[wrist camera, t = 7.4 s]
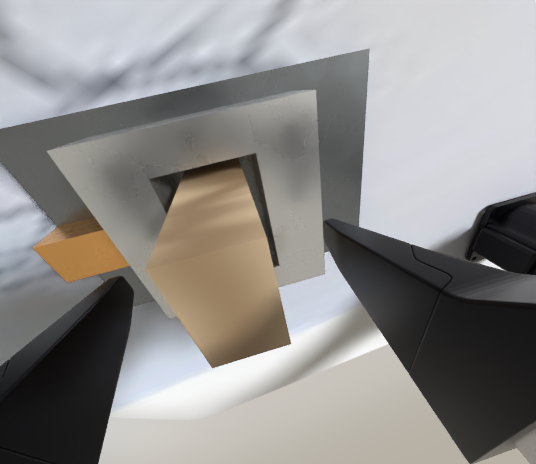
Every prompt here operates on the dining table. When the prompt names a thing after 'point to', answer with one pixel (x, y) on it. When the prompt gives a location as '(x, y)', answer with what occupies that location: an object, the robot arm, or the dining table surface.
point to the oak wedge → (219, 266)
